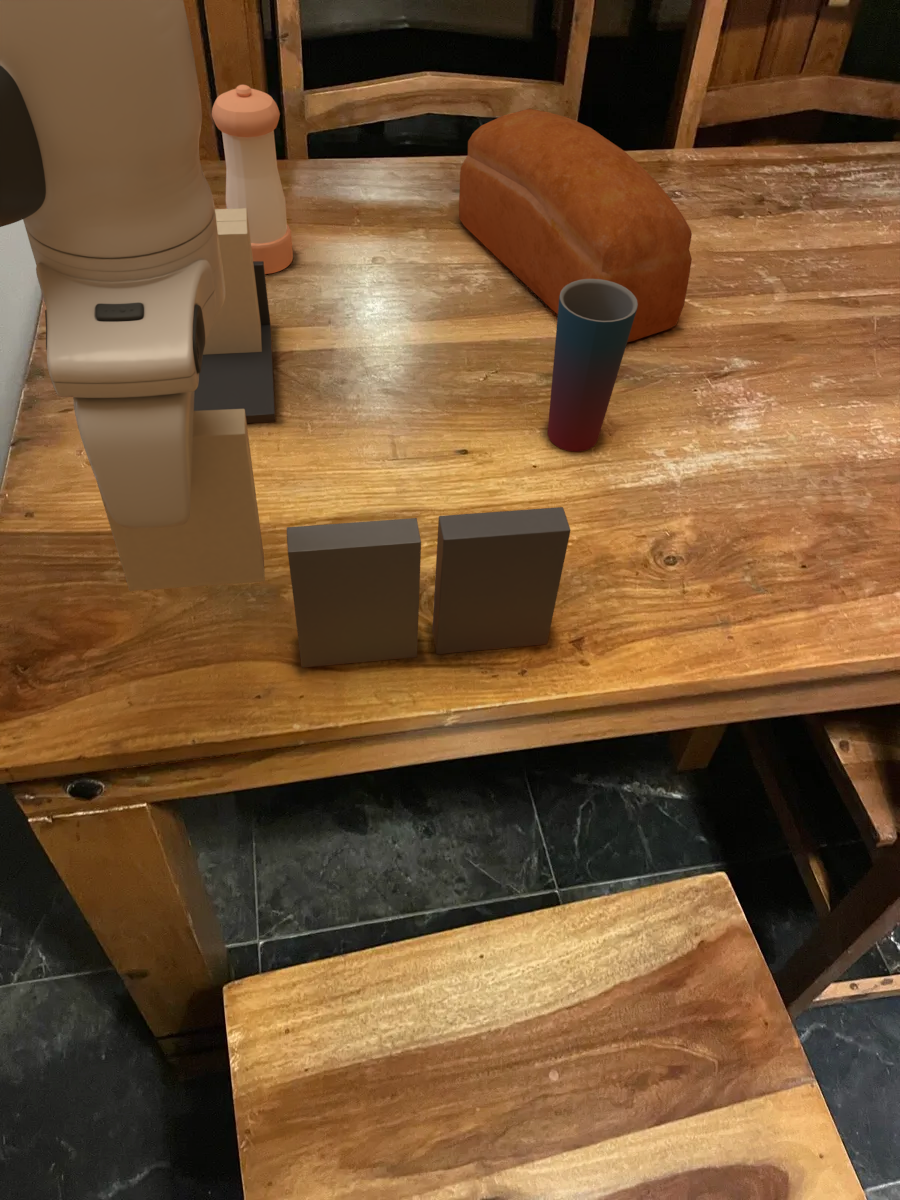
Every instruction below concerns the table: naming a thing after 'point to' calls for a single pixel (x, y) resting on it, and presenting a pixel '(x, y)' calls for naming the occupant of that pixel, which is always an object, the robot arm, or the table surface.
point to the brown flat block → (203, 517)
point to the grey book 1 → (355, 590)
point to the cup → (587, 359)
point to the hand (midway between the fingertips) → (176, 474)
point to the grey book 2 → (497, 578)
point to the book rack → (239, 331)
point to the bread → (575, 214)
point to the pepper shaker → (255, 171)
